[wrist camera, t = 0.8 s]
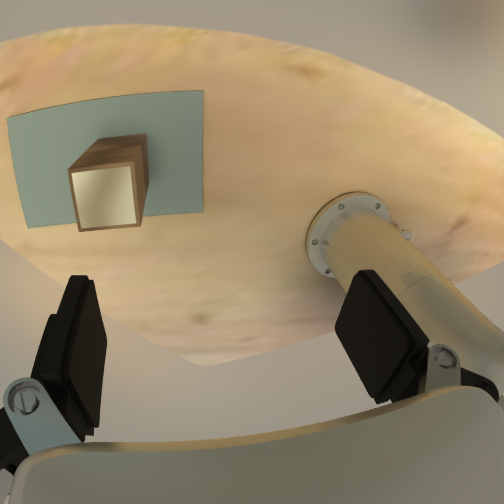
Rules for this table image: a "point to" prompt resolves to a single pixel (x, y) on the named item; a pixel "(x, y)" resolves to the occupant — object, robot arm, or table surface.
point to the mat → (102, 126)
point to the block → (110, 183)
